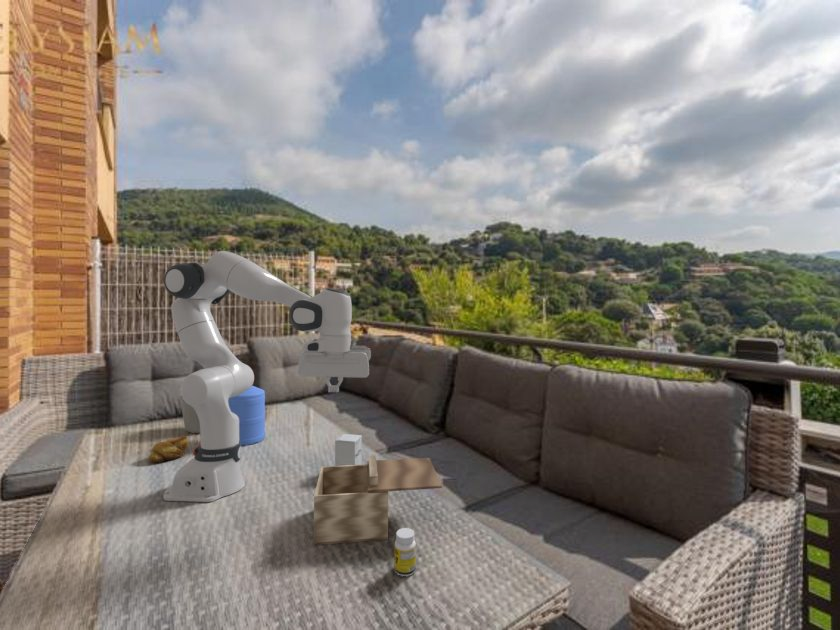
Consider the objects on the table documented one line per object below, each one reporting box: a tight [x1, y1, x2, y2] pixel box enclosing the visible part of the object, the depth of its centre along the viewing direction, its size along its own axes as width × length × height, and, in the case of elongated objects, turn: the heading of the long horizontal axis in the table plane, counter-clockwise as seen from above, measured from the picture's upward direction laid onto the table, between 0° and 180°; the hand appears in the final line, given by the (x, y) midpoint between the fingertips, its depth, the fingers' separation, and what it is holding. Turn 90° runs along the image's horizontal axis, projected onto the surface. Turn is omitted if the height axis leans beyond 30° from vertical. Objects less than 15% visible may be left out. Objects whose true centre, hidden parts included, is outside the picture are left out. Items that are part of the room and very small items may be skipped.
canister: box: [178, 395, 200, 434], centre depth 184 cm, size 18×18×21 cm
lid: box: [366, 455, 443, 493], centre depth 108 cm, size 19×19×3 cm
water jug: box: [228, 385, 266, 447], centre depth 171 cm, size 16×16×28 cm
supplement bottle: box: [393, 527, 417, 577], centre depth 88 cm, size 5×5×8 cm
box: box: [313, 463, 389, 546], centre depth 107 cm, size 18×18×12 cm
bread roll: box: [147, 435, 189, 464], centre depth 150 cm, size 13×10×8 cm
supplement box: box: [334, 433, 363, 466], centre depth 138 cm, size 7×7×13 cm
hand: (333, 391), depth 116 cm, fingers closed
